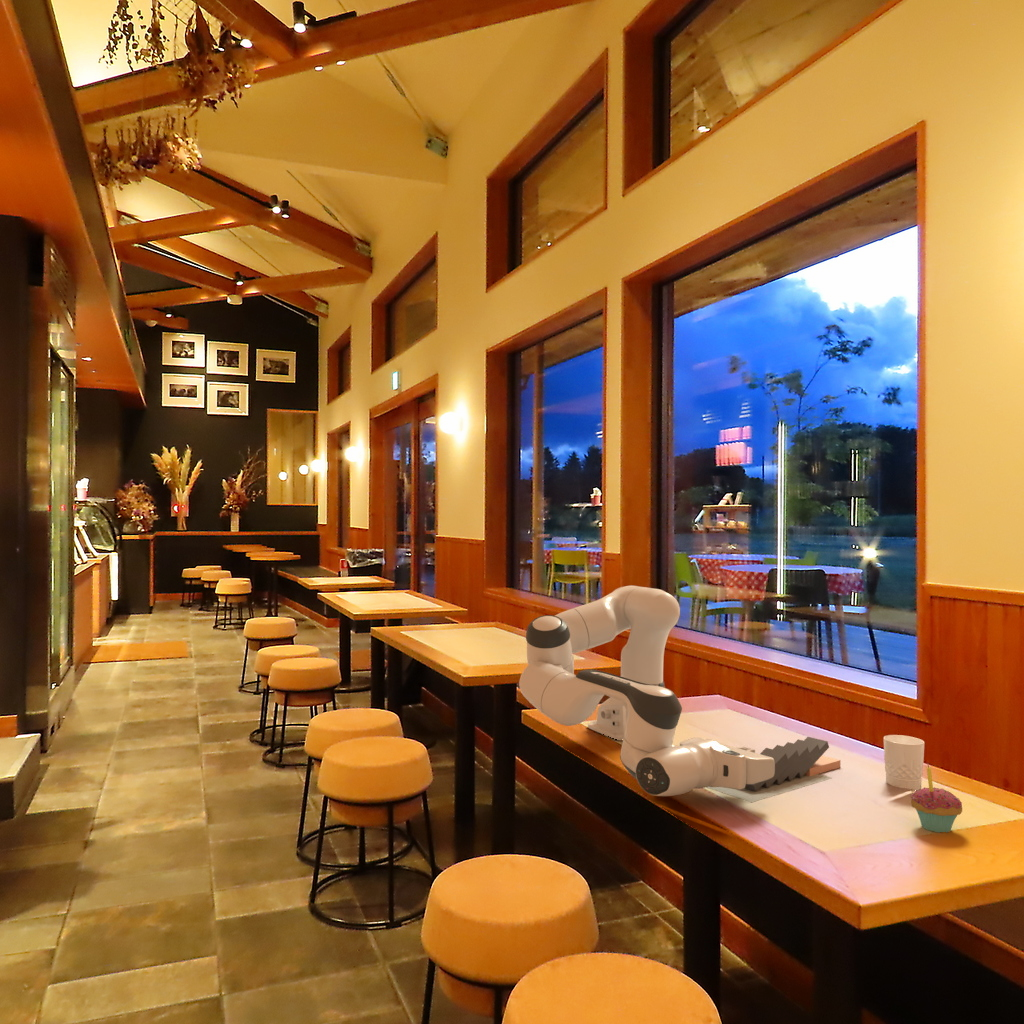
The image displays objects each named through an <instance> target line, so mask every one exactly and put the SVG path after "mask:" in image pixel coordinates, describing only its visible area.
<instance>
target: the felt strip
mask: <svg viewBox="0 0 1024 1024" xmlns="http://www.w3.org/2000/svg"><path fill="white" fill-rule="evenodd" d="M830 779H832V777H831V776H827V775H823V774H821V773H819V774H816V775H812V776H807V775H804V776H803V777H802V778H798V777H794V778H793V779H792V780H791V781H786V780H784V781H783V782H782V783H781V784H780V785H777V784H774V783H773V784H772V785H771V786H770V787H769V788H768V789H767V788H764V787H760V788H759V789H758V790H757V791H756V792H754V791H751V790H748V789H745V788H744V789H732V788H725V787H706V788H707V789H710V790H713V791H716V792H720V793H722V794H724V795H728V796H732V797H734V798H736V799H740V800H743V801H746V802H750V803H754V802H758V801H761V800H765V799H768V798H772V797H775V796H777V795H781V794H784V793H787V792H791V791H794V790H798V789H802V788H804V787H807V786H810V785H813V784H818V783H821V782H824V781H828V780H830Z"/></svg>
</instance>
